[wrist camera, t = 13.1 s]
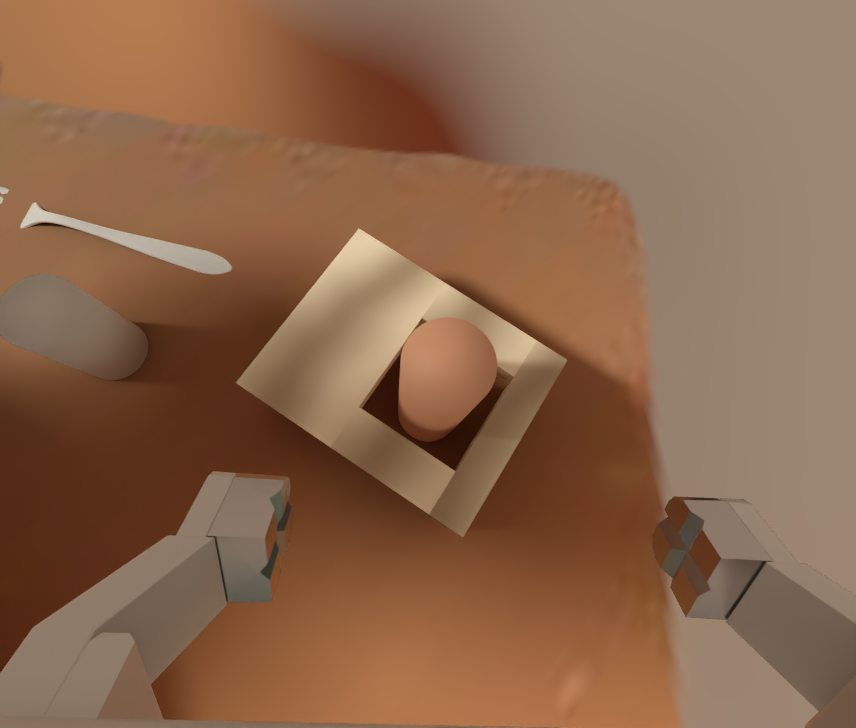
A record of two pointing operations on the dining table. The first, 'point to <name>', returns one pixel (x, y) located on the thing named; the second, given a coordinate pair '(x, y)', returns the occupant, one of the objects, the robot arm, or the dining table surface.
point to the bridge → (371, 360)
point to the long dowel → (443, 376)
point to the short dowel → (71, 327)
